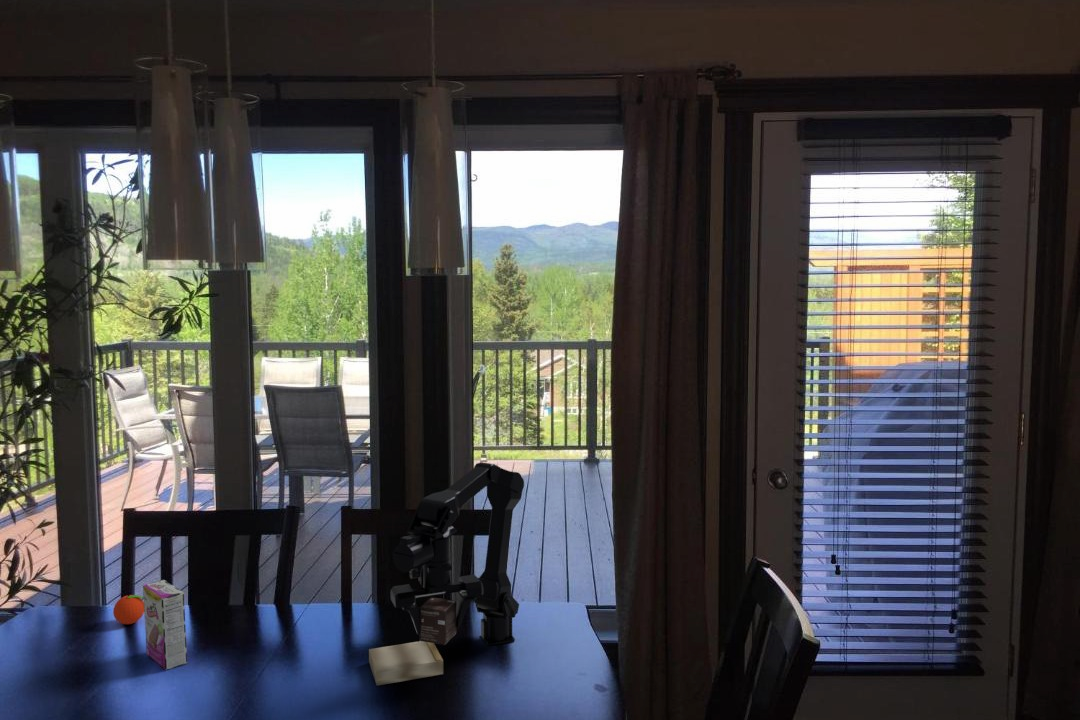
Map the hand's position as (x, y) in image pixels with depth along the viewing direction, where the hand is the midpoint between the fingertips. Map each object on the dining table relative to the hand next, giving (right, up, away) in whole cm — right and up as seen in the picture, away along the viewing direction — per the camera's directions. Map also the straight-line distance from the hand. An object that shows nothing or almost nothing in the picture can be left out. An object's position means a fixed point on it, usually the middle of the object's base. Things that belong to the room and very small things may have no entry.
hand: (437, 630), depth 164 cm
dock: (-8, -10, +4) cm, 13 cm away
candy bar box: (-62, -10, +9) cm, 63 cm away
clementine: (-80, -8, +29) cm, 85 cm away
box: (0, -2, 0) cm, 2 cm away
